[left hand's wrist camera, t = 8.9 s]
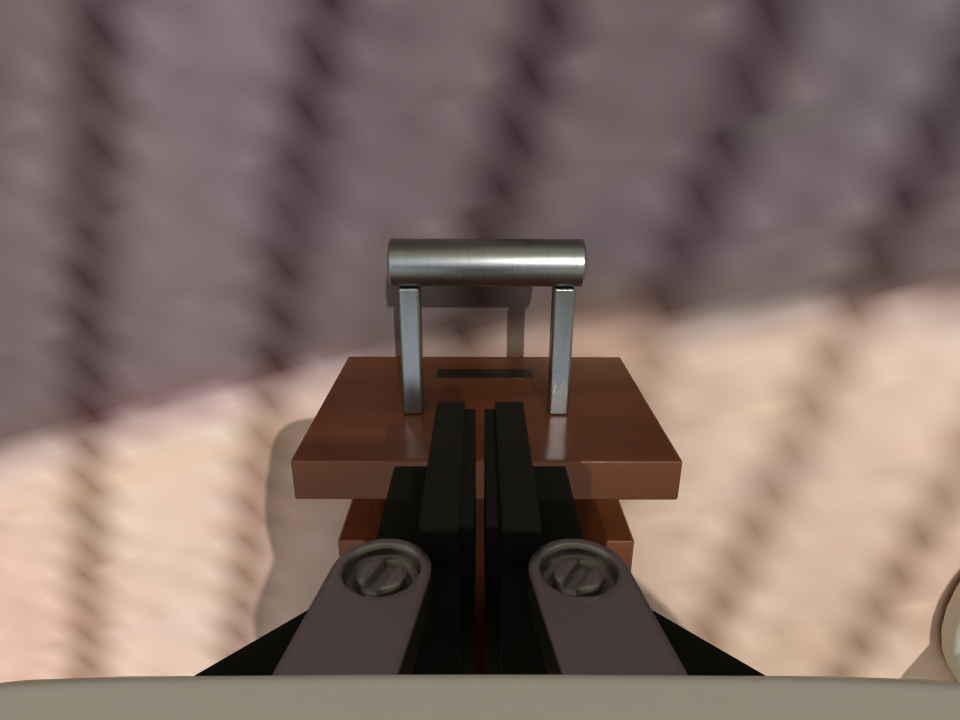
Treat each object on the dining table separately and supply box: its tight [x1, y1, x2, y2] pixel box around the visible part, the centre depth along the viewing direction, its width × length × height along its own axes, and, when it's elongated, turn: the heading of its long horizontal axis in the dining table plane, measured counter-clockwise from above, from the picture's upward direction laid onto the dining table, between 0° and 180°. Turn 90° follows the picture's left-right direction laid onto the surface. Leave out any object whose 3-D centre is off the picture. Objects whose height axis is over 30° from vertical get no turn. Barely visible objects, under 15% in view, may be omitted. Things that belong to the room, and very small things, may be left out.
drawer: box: [291, 239, 682, 675], centre depth 23 cm, size 25×10×8 cm, turn 0°
